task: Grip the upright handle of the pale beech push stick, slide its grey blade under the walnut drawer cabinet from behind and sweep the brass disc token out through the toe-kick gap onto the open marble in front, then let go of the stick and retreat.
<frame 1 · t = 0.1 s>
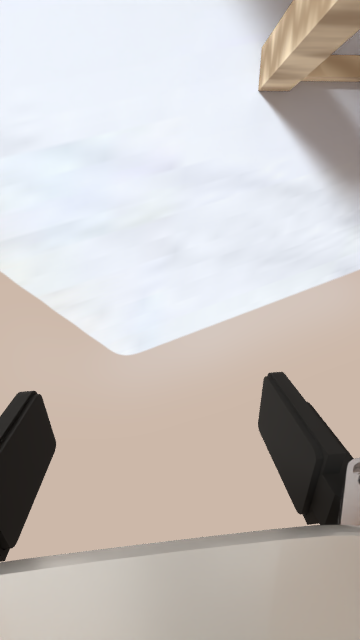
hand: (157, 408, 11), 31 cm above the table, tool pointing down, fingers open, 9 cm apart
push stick: (276, 70, 31), on the table
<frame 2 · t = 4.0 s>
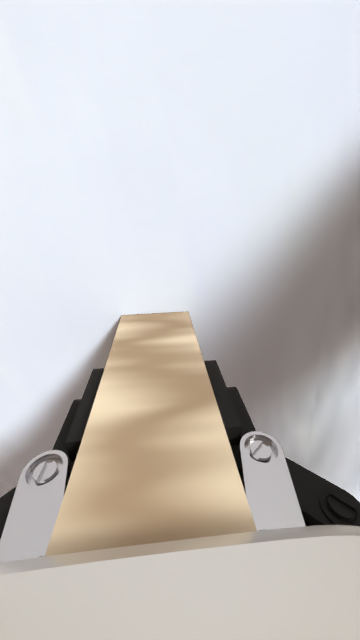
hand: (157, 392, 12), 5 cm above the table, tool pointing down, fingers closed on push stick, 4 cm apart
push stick: (157, 342, 16), on the table, touching gripper
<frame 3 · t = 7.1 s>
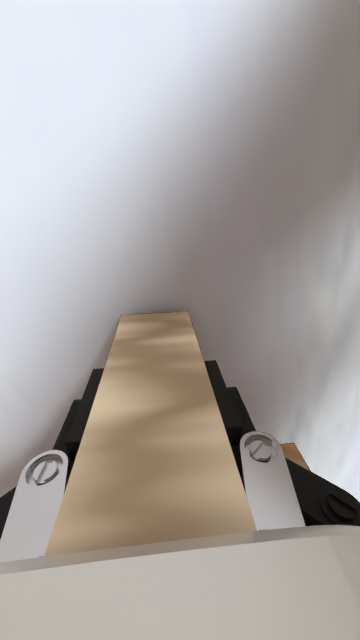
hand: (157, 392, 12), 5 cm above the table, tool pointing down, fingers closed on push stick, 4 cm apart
cabinet: (169, 494, 23), on the table
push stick: (157, 342, 16), point 1 cm above the table, touching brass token, gripper
when the fingers open (5 cm above the table, at t = 9.8 s): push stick stays where it is, on the table.
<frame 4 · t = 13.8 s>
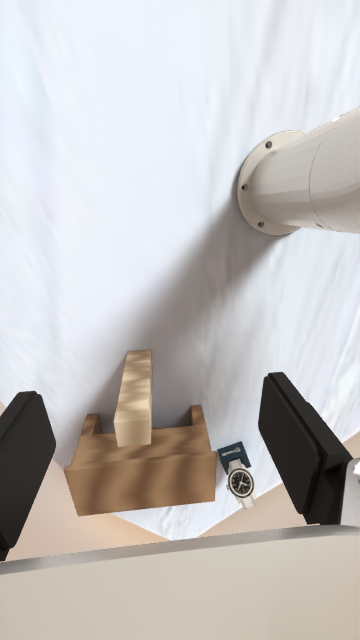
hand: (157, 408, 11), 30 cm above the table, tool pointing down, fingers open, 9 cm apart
cabinet: (147, 428, 52), on the table
watch: (231, 450, 57), on the table
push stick: (140, 360, 45), on the table
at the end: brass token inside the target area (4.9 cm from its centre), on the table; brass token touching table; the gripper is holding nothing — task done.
